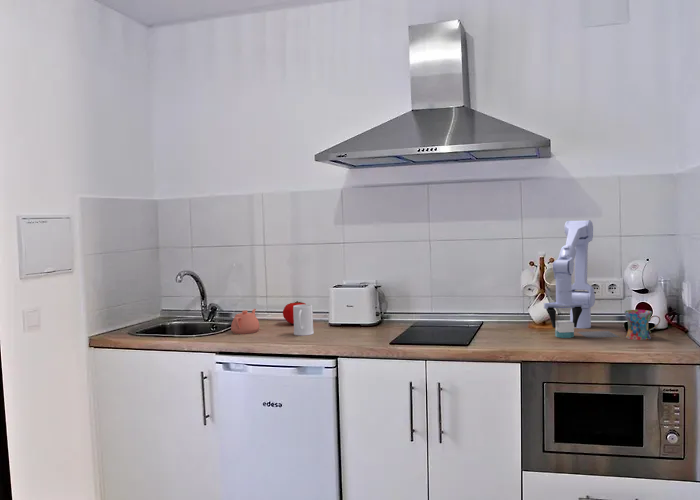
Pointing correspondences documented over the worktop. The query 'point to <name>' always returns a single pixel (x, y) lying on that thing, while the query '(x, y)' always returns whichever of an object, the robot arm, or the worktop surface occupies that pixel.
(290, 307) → the tomato
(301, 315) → the mug
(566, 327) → the white block
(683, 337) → the worktop surface
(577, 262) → the robot arm
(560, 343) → the worktop surface
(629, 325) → the mug
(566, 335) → the bowl
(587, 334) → the mat
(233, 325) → the teapot
